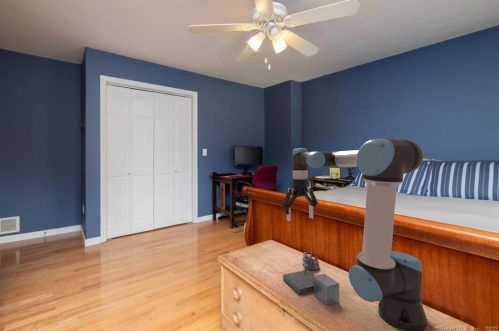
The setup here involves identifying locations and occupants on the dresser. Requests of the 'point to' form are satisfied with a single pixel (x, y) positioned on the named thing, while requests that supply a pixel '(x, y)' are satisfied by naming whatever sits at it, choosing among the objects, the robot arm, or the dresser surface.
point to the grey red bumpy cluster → (310, 261)
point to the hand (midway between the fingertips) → (300, 219)
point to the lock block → (326, 289)
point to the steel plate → (300, 281)
